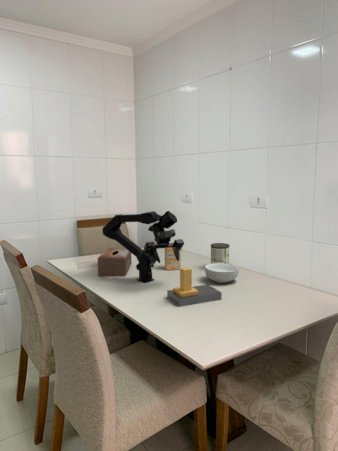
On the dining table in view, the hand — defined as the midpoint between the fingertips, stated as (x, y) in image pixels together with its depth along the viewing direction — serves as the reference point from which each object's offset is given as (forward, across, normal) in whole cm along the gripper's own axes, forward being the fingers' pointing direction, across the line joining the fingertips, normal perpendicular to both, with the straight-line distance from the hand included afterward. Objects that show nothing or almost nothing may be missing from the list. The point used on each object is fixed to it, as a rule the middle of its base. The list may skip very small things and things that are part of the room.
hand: (169, 261), depth 161 cm
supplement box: (-13, +16, +33) cm, 39 cm away
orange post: (+19, +2, -1) cm, 19 cm away
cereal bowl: (+8, +30, +12) cm, 33 cm away
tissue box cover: (-22, -13, +42) cm, 49 cm away
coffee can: (-5, +40, +24) cm, 47 cm away
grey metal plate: (+20, +5, 0) cm, 20 cm away
